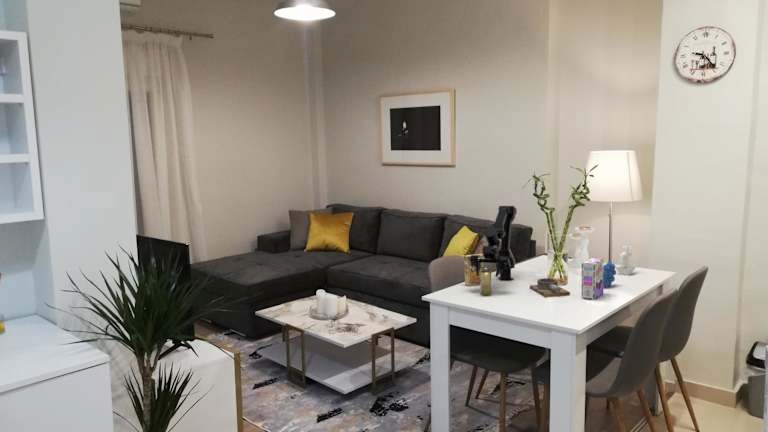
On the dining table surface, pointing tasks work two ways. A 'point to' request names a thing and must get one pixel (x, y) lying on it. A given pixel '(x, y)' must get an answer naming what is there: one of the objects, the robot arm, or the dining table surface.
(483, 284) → the gold two-tone capped cylinder
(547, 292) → the fitting board
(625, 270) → the figurine
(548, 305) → the dining table surface
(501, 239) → the robot arm
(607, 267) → the grapes
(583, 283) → the candy box
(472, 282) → the candy box
